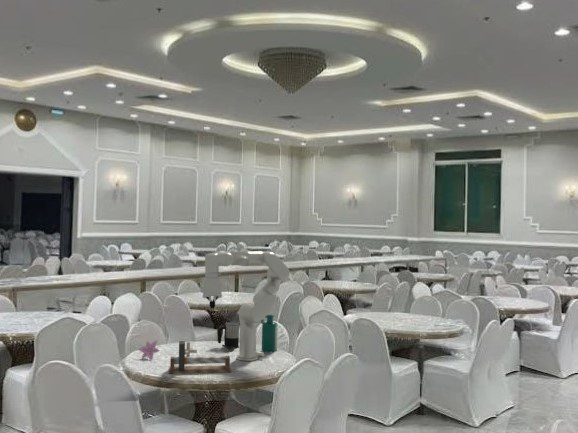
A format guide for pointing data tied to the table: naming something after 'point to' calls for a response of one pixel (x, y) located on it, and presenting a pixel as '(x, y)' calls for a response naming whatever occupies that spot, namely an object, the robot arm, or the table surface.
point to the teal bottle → (269, 334)
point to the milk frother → (230, 335)
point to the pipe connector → (189, 350)
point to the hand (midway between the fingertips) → (212, 308)
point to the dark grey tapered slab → (181, 355)
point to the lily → (149, 349)
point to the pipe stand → (201, 369)
